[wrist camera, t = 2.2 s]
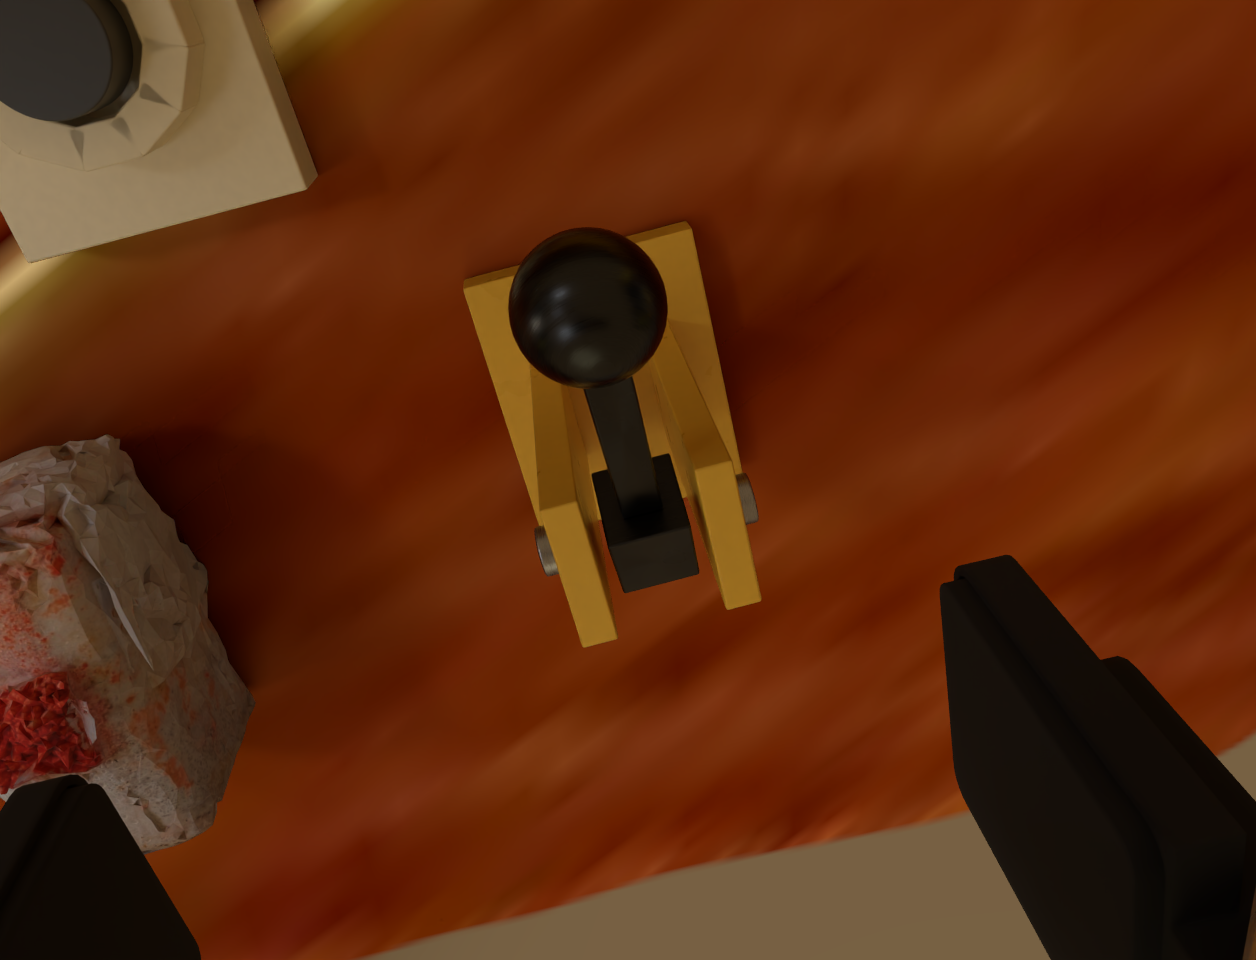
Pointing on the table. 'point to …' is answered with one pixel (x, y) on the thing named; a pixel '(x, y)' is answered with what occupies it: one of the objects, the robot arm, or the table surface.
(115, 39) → the stop button
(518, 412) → the lever bracket
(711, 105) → the table surface
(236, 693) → the food item
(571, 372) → the press lever
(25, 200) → the control block
